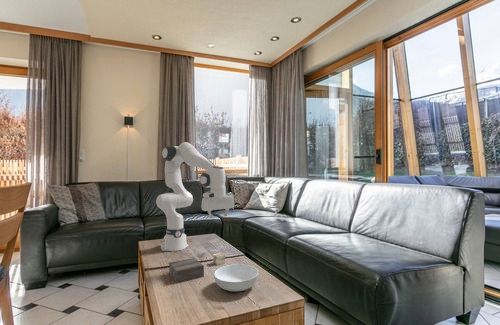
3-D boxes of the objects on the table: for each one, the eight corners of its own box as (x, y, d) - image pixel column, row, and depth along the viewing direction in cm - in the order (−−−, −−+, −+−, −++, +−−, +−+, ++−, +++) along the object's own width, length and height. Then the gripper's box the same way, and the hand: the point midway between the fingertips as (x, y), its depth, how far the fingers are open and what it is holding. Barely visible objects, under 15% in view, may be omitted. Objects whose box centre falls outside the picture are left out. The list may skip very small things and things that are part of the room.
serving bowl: (207, 283, 130) (207, 269, 130) (245, 274, 140) (245, 261, 140) (225, 301, 112) (225, 285, 112) (267, 290, 122) (267, 274, 122)
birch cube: (213, 262, 158) (213, 254, 158) (220, 261, 160) (220, 252, 161) (217, 265, 154) (216, 256, 154) (224, 263, 156) (224, 255, 156)
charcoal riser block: (169, 274, 142) (169, 262, 142) (194, 268, 150) (194, 258, 150) (176, 283, 130) (176, 271, 130) (203, 277, 138) (203, 265, 138)
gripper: (231, 192, 166) (231, 214, 166) (200, 194, 155) (200, 218, 155) (236, 192, 161) (236, 215, 161) (204, 195, 150) (204, 219, 149)
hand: (218, 217), depth 158 cm, fingers open, 8 cm apart
